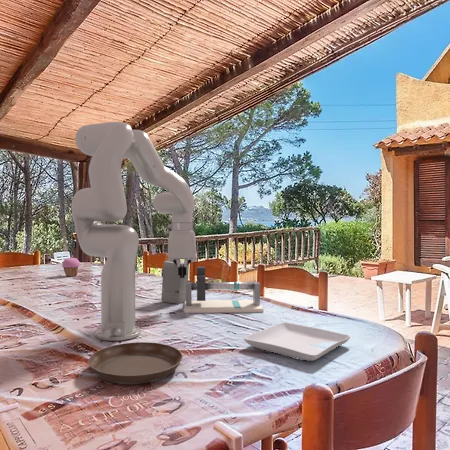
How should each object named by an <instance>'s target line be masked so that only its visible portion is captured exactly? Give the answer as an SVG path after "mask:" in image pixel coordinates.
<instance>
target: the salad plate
mask: <svg viewBox="0 0 450 450" xmlns="http://www.w3.org/2000/svg"><path fill="white" fill-rule="evenodd" d="M350 339H351V336H350V335H348V334H344V333H339V332H335V331H330V330H327V329H322V328H317V327H314V326H313V327H312V326H307V325H302V324H297V323H291V322H281V323H278V324H275V325H272V326H269V327H267V328H264V329H261V330H260V331H256V332H254V333H252V334H249V335H247V336H244V337H243V340H244V342H245V344H246V343H247V344H248V345H250V346H251V347H254V348H256V349H260V350H262V351H264V350H266V351H265V352H268V351H270V352H269V353H271V352H274V353H273V354H275V353H278V354H277V355H279V354H282V355H281V356H283V355H286V356H290V357H294V358H298V359H302V360H301V361H303V360H307V361H306V362H311V361H316V360H318V359H320V358H321V357H322V356H325V355H327V354H329V351H330V352H331V350H332V351H333V350H335V349H337V348H339V347H341V346H343V345H344V344H346V343H347V342H348V341H349V340H350ZM323 342H324V343H325V342H337V343H335V344H333V345H331V346H330V347H328V348H326V349H325V350H324V349H323V350H321V349H320V350H321V351H320V350H318V349H319V348H316V347H315V346H316V345H317V343H318V344H319V343H323ZM311 344H312V345H315V346H314V347H315V348H314V347H313V346H312V347H311ZM342 344H343V345H342ZM319 345H320V344H319ZM340 345H341V346H340ZM338 346H339V347H338ZM336 347H337V348H336ZM286 356H285V357H286ZM290 357H289V358H290ZM294 358H293V359H294ZM298 359H297V360H298Z"/></svg>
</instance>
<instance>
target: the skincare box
mask: <svg viewBox="0 0 450 450" xmlns="http://www.w3.org/2000/svg"><path fill="white" fill-rule="evenodd" d="M180 262H181V265H182V267H183V265H184V261H181V260H180ZM189 266H190V264H189V265H188V266H187V267H186V275H185V278H180V275H178V266H177V265H176V264H175V263H173V262H169V261H168V260H166V261H163V267H162V269H163V270H162V283H161V303H167V304H168V303H169V304H175V305H176V304H177V305H180V304H182V303H185V301H186V282H189V271H190V270H189Z"/></svg>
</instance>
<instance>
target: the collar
mask: <svg viewBox="0 0 450 450" xmlns="http://www.w3.org/2000/svg"><path fill="white" fill-rule="evenodd" d="M205 282H206V266H197V267H196V283H197V290H196V301H205V300H206V290H205Z"/></svg>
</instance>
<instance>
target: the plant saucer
mask: <svg viewBox="0 0 450 450" xmlns="http://www.w3.org/2000/svg"><path fill="white" fill-rule="evenodd" d="M183 357H184V356H183V353H182V351H181V350H179V349H178V348H176V347H174V346H172V345H168V344H165V343H159V342H149V341H148V342H146V341H145V342H143V341H138V342H125V343H119V344H115V345H111V346H106V347H104V348H101V349H99V350H97V351H96V352H94V353H92V354H91V355H90V356H89V358H88V364H89V367H90V368H91V370H92V371H93V372H94V373H95V374H96V375H97V376H99V378H101V379H103V380H105V381H107V382H109V383H112V384H118V385H141V383H144V384H148V383H147V382H149V383H153V382H152V381H154V382H156V380H157V381H159V379H160V380H163V379H165V378H166V377H168V376H169V375H171V374H172V373H173V372H174V371H175V370H176V369H177V368H178V367H179V365H180V364H181V362H182V361H183Z"/></svg>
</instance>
